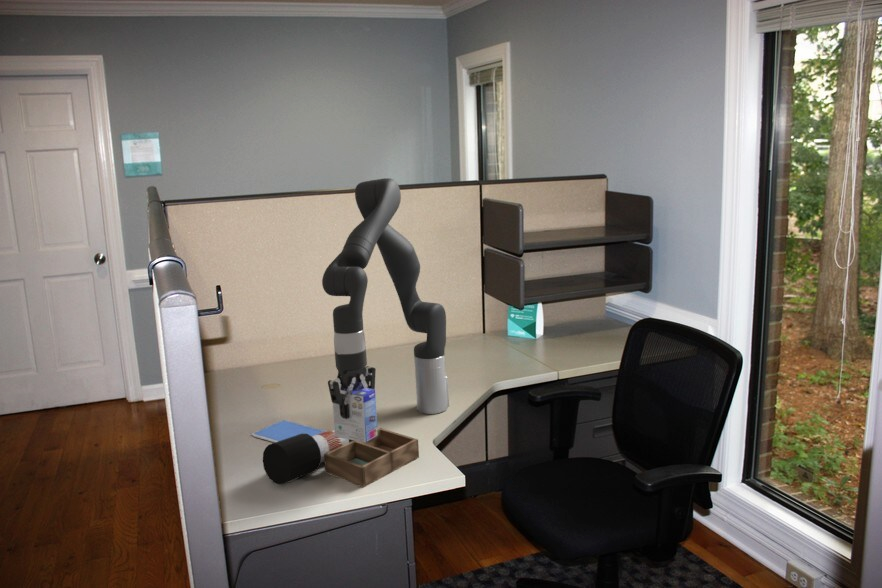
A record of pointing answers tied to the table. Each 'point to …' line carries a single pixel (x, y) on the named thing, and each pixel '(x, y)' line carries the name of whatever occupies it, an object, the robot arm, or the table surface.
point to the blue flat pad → (285, 431)
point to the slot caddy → (371, 457)
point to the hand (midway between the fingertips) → (355, 413)
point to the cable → (298, 455)
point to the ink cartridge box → (357, 416)
